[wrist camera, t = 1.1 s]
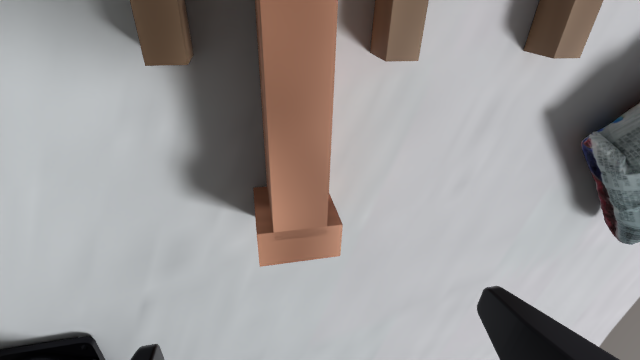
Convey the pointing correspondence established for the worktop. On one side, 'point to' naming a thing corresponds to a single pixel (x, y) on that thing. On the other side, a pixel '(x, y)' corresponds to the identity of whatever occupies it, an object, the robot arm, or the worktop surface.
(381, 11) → the lane rack
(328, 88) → the block
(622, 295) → the worktop surface
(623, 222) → the packaged food
